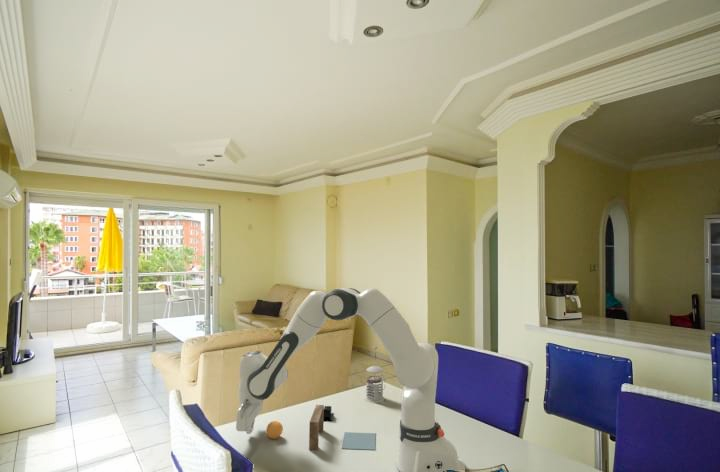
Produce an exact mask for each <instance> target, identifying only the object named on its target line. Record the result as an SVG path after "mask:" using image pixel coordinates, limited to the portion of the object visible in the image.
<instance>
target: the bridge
mask: <svg viewBox="0 0 720 472" xmlns="http://www.w3.org/2000/svg"><path fill="white" fill-rule="evenodd" d="M324 407H325V405H324V404H316V405H315V408H314V409H313V412H312V415H311V416H310V417H311V418H310V420H309V427H308V428H309V429H308V430H309V432H308V433H309V434H308V436H309V437H308V440H309V441H308V443H309V444H308V450H309V451H318V449H319V433H323V432H324Z"/></svg>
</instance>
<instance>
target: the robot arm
mask: <svg viewBox="0 0 720 472" xmlns="http://www.w3.org/2000/svg"><path fill="white" fill-rule="evenodd" d="M356 316H360V317H361V318H362V319H364V321H365V322H366V323H367V325H368V326H369V327H370V329H371V330H372V331H373V333H374V334H375V335H376V337H377V338H378V339H379V341H380V342H381V343H382V345H383V347H384V349H385V350H386V353H387V355H388V357H389V359H390V361H391V363H392V365H393V367H394V369H395V375H396V378H397V381H399V383H400V384H401V385H402V386H403V390H402V394H401V405H400V406H401V408H400V409H401V411H400V412H401V415H400V417H401V419H400V421H399V440H400V441H399V447H398V452H397V453H398V454H397V458H396V460H395V467H396V469H397V470H398V471H399V472H443V471H446V470H459V469H466V466H465V463H464V461H463V460H462V459H461V458H460V456H458V452H457V449H456V446H455V445H454V444H453V443H452V442H451V441H450V440H449V439H448V438H446V437H445V432H444V430H443V429H442V427H441V425H440V424H439V422H438V421H436V395H437V386H438V385H437V384H438V373H439V372H438V371H439V353H438V351H437V349H436V348H435V347H434V346H433V344H430V343H429V342H417V340H416V338H415V336H414V334H413V332H412V330H411V327H410V325H409V323H408V322H407V321H406V319H405V318H404V317H403V316H402V314H401V313H400V311H399V310H398V309H397V308H396V307H395V305H394V303H392V302H391V301H390V299H389V298H387V296H386V295H384V293H382V292H381V291H380V290H379V289H378V288H375V287H370V288H367V289H365V290H363V291H362V292H360V291H359V290H357V289H356V288H349V287H348V288H347V287H341V288H336V289H335V288H334V289H332V290H330V291H328V292H324V291H323V290H313V291H311V292H310V293H309V294H308V295H307V296H306V297H305V298H304V300H303V301H302V302H301V303H300V305H299V306H298V307H297V309H296V310H295V313H293V316H292V317H291V319H290V321H289V323H288V324H287V327H285V330H284V332H283V333H282V335H281V337H280V339H279V340H278V342H277V344H275V346H274V348H273V350H271V352H270V354H269V355H268V356H267V355H265V354H264V353H263V352H262V351H261V350H260V351H259V350H254V351H249V352H247V353H246V352H245V354H244V355H242V356H241V357H240V361H239V362H240V363H239V368H238V369H239V370H238V378H239V385H238V398H237V399H238V400H237V401H238V402H239V403H240V404H241V405H240V407H239V408H238V410H237V412H236V413H237V415H236V424H235V425H236V426H235V430H236V431H237V432H245V434H247V435H251V434H252V432H253V431H254V426H255V421H256V418H257V417H258V415H259V414H260V412H261V411H262V410H263V406H264V400H267V399H268V398H269V397H270V396H271V395H272V394H273V393H274V392H275V391H277V390H278V389H279V388H280V387H281V386H282V385H284V383H285V382H286V381H287V380H288V375H289V371H288V368H287V366H286V364H287V362H288V361H289V359H290V358H291V356H292V355H294V354H295V353H296V352H297V351H298V350H299V349H301V348H302V347H304V346H305V345H306V344H308V343H309V342H310V341H311V340H313V339H314V337H315V336H317V334H318V333H319V331H320V330H321V328H322V326H323V325H324V323H325V322H326V320H327V319H328V318H329V319H330V320H333V321H343V320H350V319H352V318H353V317H356Z"/></svg>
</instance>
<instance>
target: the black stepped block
mask: <svg viewBox="0 0 720 472" xmlns="http://www.w3.org/2000/svg"><path fill="white" fill-rule="evenodd" d="M334 416H335V413H334V412H332V406H331V405H324V422H329V423H330V422H331V423H332V422H334Z"/></svg>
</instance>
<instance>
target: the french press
mask: <svg viewBox="0 0 720 472" xmlns="http://www.w3.org/2000/svg"><path fill="white" fill-rule="evenodd" d="M372 348H373V349H374V350H377V349H378V346H376V345H374V346H373V347H372ZM365 370H366V372H368V373H370V374H381V373H382V372H383V371H384V369H383V368H382V367H380V366H378V365H372V366H369V367H367V368H366V369H365ZM383 379H384V380H383ZM384 381H386V379H385V377H384V375H383V374H381V375H370V376H367V380H366V391H365V392H366V394H365V397H364V398H363V399H364V401H366V403H367V402H368V403H371V404H376V403H377V404H378V403H382V402H384V401H385V397H384V396H383V395H384V394H383V393H384V392H383V391H384V390H385V388H386V386H384Z"/></svg>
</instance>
